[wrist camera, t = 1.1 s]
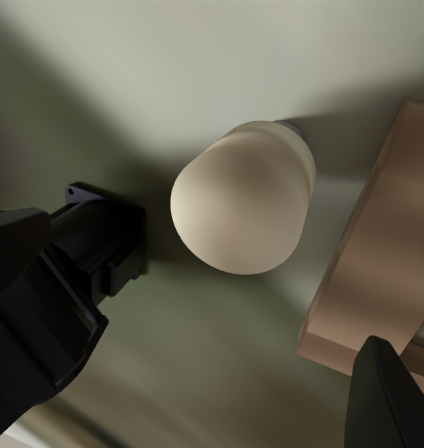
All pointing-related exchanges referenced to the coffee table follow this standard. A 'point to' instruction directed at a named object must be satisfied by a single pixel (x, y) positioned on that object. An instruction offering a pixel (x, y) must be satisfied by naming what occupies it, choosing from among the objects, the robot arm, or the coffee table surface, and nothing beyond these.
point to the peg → (246, 197)
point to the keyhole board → (377, 260)
